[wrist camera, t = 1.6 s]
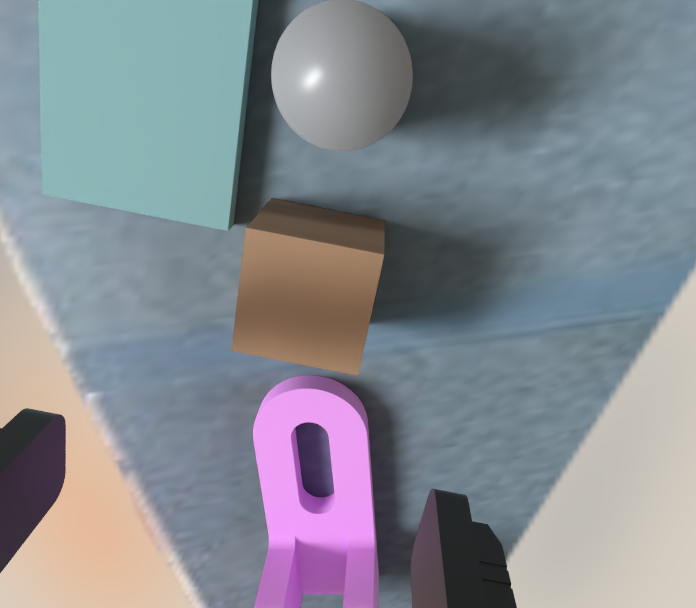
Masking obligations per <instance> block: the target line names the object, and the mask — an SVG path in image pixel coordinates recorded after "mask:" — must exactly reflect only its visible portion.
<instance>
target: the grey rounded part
mask: <svg viewBox="0 0 696 608" xmlns="http://www.w3.org/2000/svg"><path fill="white" fill-rule="evenodd" d="M271 80H272V88H273V94H274V97H275V101H276V104H277V106H278V108H279V110H280V113H281V114H282V116H283V118H284V119H285V121H286V122H287V123H288V125H289V126H290V127H291V128H292V129H293V130H294V131H295V132H296V133H297V134H298V135H299V136H300V137H302V138H303V139H304V140H306V141H308V142H309V143H311V144H313V145H315V146H318V147H320V148H323V149H327V150H332V151H353V150H358V149H361V148H365V147H367V146H370V145H372V144H374V143H375V142H377V141H379V140H380V139H382V138H383V137H384V136H386V135H387V134H388V133H389V132H390V131H391V130H392V129H393V128H394V127H395V125H396V124H397V123H398V121H399V120H400V119H401V117H402V115H403V113H404V112H405V109H406V107H407V105H408V102H409V99H410V95H411V91H412V84H413V68H412V61H411V56H410V52H409V49H408V47H407V44H406V42H405V40H404V38H403V36H402V34H401V33H400V31H399V30H398V28H397V27H396V26H395V24H394V23H393V22H392V21H391V20H390V19H389V18H388V17H387V16H386V15H384V14H383V13H382V12H380V11H379V10H377V9H376V8H374V7H372V6H370V5H368V4H365V3H362V2H359V1H355V0H329V1H324V2H321V3H318V4H316V5H314V6H312V7H310V8H308V9H306V10H305V11H303V12H302V13H300V14H299V15H298V16H297V17H296V18H295V19H294V20H293V21H292V22H291V23H290V24H289V25H288V27H287V28H286V29H285V31H284V32H283V34H282V35H281V37H280V39H279V42H278V44H277V46H276V49H275V52H274V56H273V61H272V70H271Z"/></svg>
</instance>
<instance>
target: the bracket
mask: <svg viewBox="0 0 696 608" xmlns="http://www.w3.org/2000/svg"><path fill="white" fill-rule="evenodd" d="M306 422H311V423H316V424H318V425H320V426H322V427H323V428H324V429H325V430H326V431H327V433H328V436H329V444H330V453H331V463H332V473H333V483H334V493H333V494H331V495H330V496H327V497H315V496H312V495H310V494H309V493H307V492H306V491H305V489H304V488H303V485H302V477H301V469H300V461H299V453H298V445H297V438H296V430H295V427H296V426H298V425H299V424H302V423H306ZM253 440H254V446H255V452H256V458H257V465H258V471H259V477H260V483H261V490H262V496H263V502H264V508H265V515H266V521H267V527H268V533H269V548H268V552H267V556H266V561H265V565H264V569H263V573H262V577H261V581H260V585H259V589H258V593H257V597H256V601H255V606H254V608H301V604H302V597H303V594H344V600H343V608H378V604H379V569H378V554H377V540H376V526H375V512H374V498H373V484H372V470H371V456H370V442H369V428H368V418H367V414H366V411H365V408H364V406H363V404H362V403H361V401H360V400H359V398H358V397H357V396H356V395H355V394H354V393H353V392H352V391H351V390H350V389H349V388H347V387H346V386H344V385H343V384H341V383H339V382H337V381H335V380H332V379H330V378H326V377H322V376H313V375H305V376H298V377H293V378H290V379H287V380H285V381H283V382H281V383H279V384H278V385H276V386H275V387H274V388H273V389H272V390H271V391H269V393H268V394H267V395H266V396H265V398H264V400H263V401H262V404H261V406H260V409H259V411H258V414H257V417H256V420H255V423H254V428H253Z"/></svg>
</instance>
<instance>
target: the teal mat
mask: <svg viewBox="0 0 696 608" xmlns="http://www.w3.org/2000/svg"><path fill="white" fill-rule="evenodd" d="M258 1H259V0H38V13H39V63H40V114H41V165H42V194H43V195H48V196H53V197H58V198H63V199H68V200H73V201H78V202H83V203H88V204H94V205H99V206H104V207H109V208H114V209H119V210H124V211H129V212H134V213H139V214H144V215H149V216H154V217H160V218H165V219H170V220H175V221H180V222H185V223H190V224H195V225H200V226H205V227H210V228H215V229H220V230H226V231H228V230H229V229H230V228H231V227H232V226H233V225H234V217H235V208H236V199H237V190H238V181H239V172H240V163H241V154H242V145H243V136H244V127H245V118H246V109H247V100H248V91H249V82H250V73H251V64H252V55H253V46H254V37H255V28H256V19H257V10H258Z"/></svg>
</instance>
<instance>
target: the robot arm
mask: <svg viewBox="0 0 696 608" xmlns="http://www.w3.org/2000/svg"><path fill="white" fill-rule="evenodd" d="M65 427H66V425H65V419H64V417H63V416H62V415H59V414H54V413H48V412H44V411H38V410H33V409H28V408H27V409H23V410H22V411H21V412H20V413H18V414H17V415H16V416H15V417H14V418H13V419H12V420H11V421H10V422H9V423H8V424H6V425H5V426H4V427H3V428H2V429H1V428H0V573H1V571H2V570H3V569H4V568H5V566H6V565H7V564H8V563H9V561H10V560H11V558H12V557H13V556H14V555H15V553H16V552H17V550H18V549H19V548H20V547H21V545H22V544H23V543H24V542H25V540H26V539H27V538H28V537H29V535H30V534H31V533H32V531H33V530H34V529H35V527H36V526H37V525H38V524H39V522H40V521H41V520H42V518H43V517H44V516H45V514H46V513H47V512H48V511H49V509H50V508H51V507H52V505H53V504H54V502H55V501H56V499H57V498H58V496H59V494H60V492H61V489H62V486H63V483H64V479H65V443H66V439H65V437H66V436H65V435H66V432H65V431H66V428H65ZM411 589H412V608H517V607H516V603H515V599H514V594H513V590H512V589H511V582H510V577H509V573H508V571H507V564H506V560H505V556H504V552H503V548H502V544H501V543H500V541H499V540H498V539H497V537H496V536H495V534H494V533H493V531H492V530H491V528H490V527H489V525H488V524H482V523H477V522H472V519H471V513H470V508H469V502H468V498H467V496H466V495H463V494H458V493H452V492H447V491H442V490H437V489H431V491H430V493H429V496H428V499H427V502H426V505H425V509H424V512H423V515H422V519H421V522H420V525H419V529H418V532H417V535H416V539H415V542H414V547H413V552H412V560H411Z"/></svg>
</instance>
